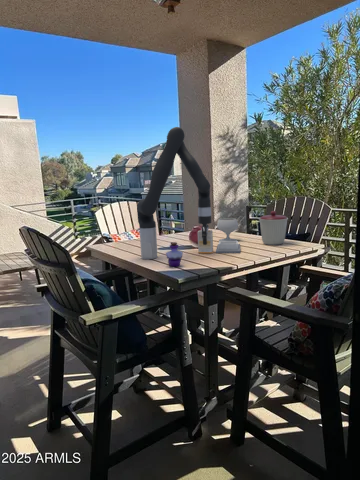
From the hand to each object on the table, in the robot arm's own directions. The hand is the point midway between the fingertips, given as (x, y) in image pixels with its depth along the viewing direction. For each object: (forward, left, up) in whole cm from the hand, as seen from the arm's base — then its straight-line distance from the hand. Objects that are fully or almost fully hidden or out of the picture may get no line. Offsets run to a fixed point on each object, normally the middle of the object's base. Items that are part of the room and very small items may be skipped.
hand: (205, 243), depth 204 cm
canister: (+26, -41, -6) cm, 49 cm away
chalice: (+38, -12, -6) cm, 40 cm away
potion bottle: (-31, +13, -6) cm, 34 cm away
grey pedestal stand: (+9, -13, -5) cm, 17 cm away
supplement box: (0, 0, -6) cm, 6 cm away
